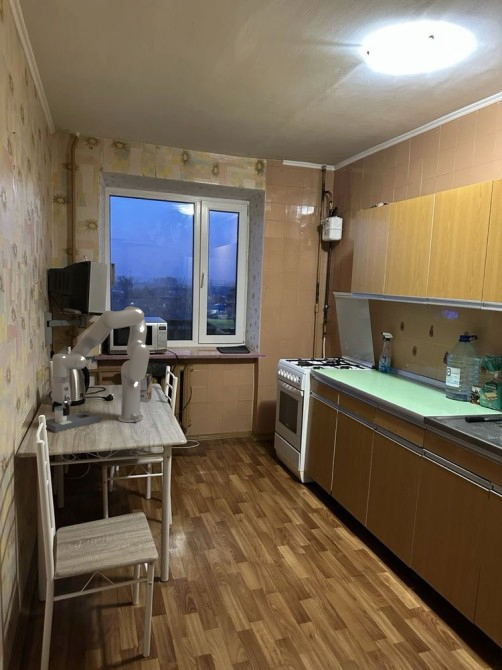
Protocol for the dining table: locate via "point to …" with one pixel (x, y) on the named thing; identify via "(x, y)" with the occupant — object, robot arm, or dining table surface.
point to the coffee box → (146, 388)
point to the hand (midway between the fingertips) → (60, 413)
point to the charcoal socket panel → (73, 421)
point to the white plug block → (59, 415)
